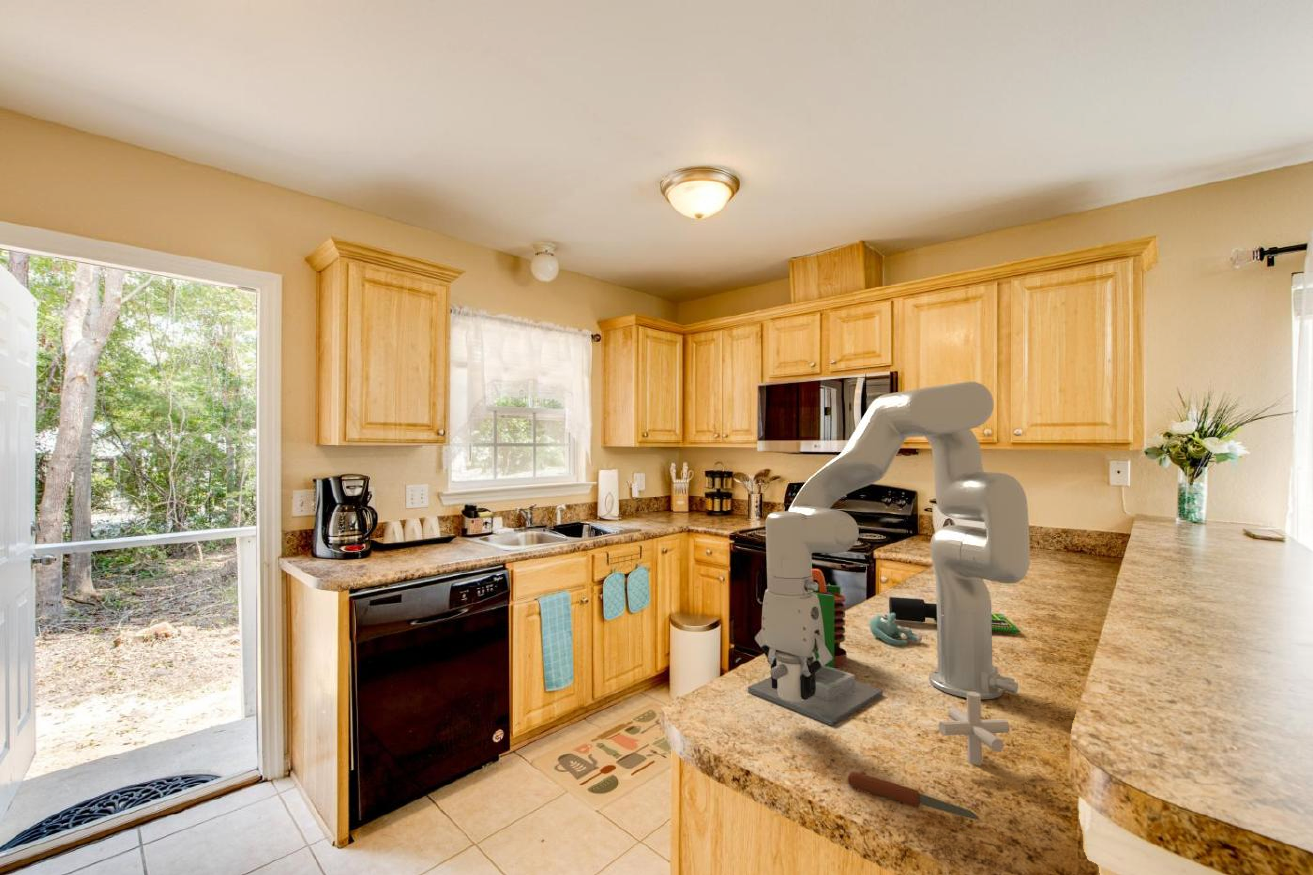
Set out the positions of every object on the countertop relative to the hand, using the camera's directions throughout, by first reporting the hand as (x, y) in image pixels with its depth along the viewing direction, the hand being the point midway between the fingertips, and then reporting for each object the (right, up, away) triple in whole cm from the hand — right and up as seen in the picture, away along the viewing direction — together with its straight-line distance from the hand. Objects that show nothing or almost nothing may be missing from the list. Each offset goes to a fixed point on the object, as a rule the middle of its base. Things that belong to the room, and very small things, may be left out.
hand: (793, 690), depth 94 cm
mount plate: (+7, -6, +12) cm, 15 cm away
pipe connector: (+24, -5, -12) cm, 27 cm away
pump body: (-1, -1, -1) cm, 1 cm away
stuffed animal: (+36, -8, +43) cm, 56 cm away
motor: (+14, -7, +29) cm, 33 cm away
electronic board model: (+56, -8, +57) cm, 80 cm away
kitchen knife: (+10, -5, -22) cm, 24 cm away
